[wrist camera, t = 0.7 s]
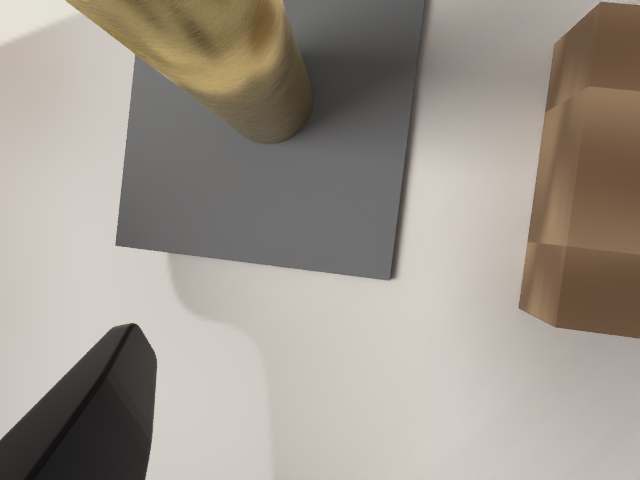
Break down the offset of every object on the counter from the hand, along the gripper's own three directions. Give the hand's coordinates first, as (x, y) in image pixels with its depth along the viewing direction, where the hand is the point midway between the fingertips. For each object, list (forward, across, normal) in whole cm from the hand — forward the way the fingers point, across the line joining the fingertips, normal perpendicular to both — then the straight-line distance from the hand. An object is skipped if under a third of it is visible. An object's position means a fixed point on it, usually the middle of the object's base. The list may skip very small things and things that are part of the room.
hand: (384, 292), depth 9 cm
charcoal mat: (+14, +3, +2) cm, 15 cm away
